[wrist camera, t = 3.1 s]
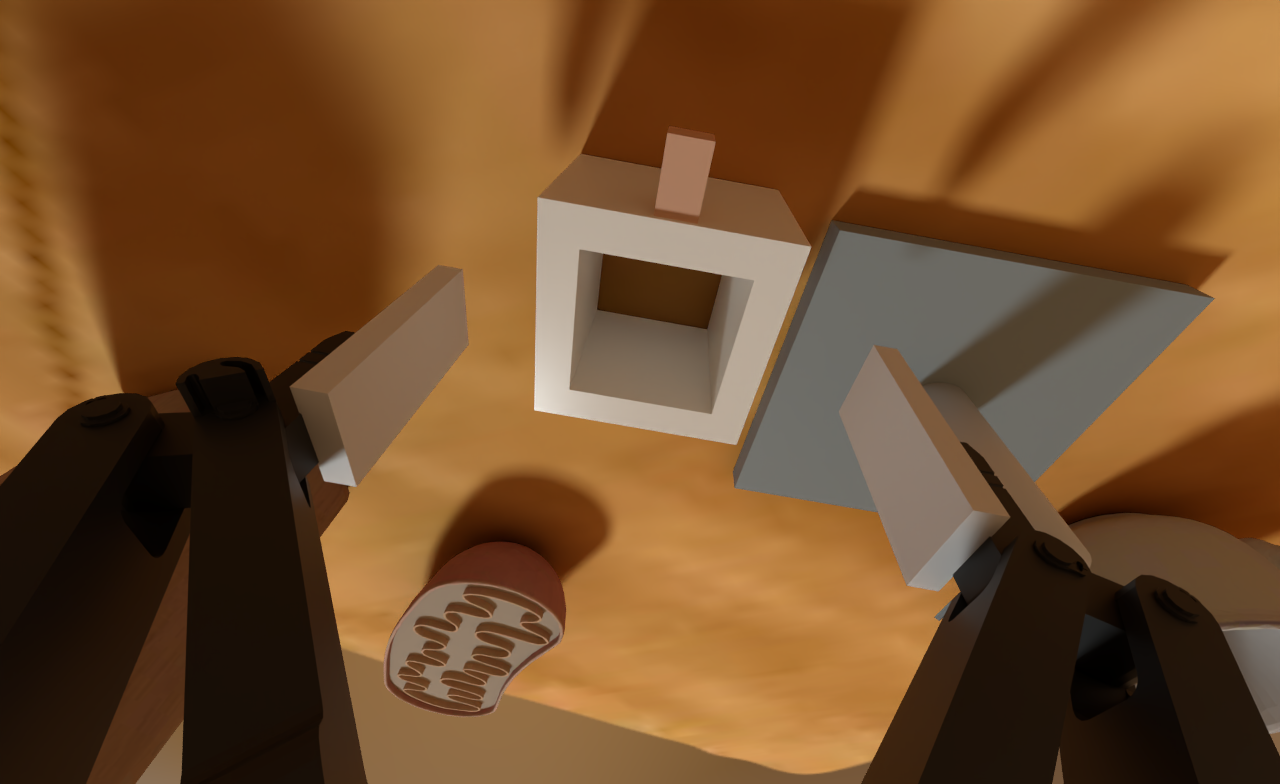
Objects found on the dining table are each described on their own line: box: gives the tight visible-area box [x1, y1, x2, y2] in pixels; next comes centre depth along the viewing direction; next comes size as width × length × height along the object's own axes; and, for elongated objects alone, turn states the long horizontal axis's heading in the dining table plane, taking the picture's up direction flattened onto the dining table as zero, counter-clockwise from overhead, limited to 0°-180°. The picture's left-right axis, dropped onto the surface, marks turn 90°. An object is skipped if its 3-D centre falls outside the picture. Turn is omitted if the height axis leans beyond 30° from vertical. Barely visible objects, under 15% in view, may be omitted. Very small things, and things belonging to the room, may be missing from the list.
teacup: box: [1068, 513, 1280, 734], centre depth 24 cm, size 14×11×8 cm
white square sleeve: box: [534, 126, 811, 445], centre depth 16 cm, size 9×7×6 cm
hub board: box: [733, 220, 1215, 568], centre depth 18 cm, size 14×14×9 cm
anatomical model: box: [384, 542, 566, 717], centre depth 35 cm, size 23×10×5 cm, turn 152°
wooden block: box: [0, 390, 350, 784], centre depth 21 cm, size 10×10×20 cm
